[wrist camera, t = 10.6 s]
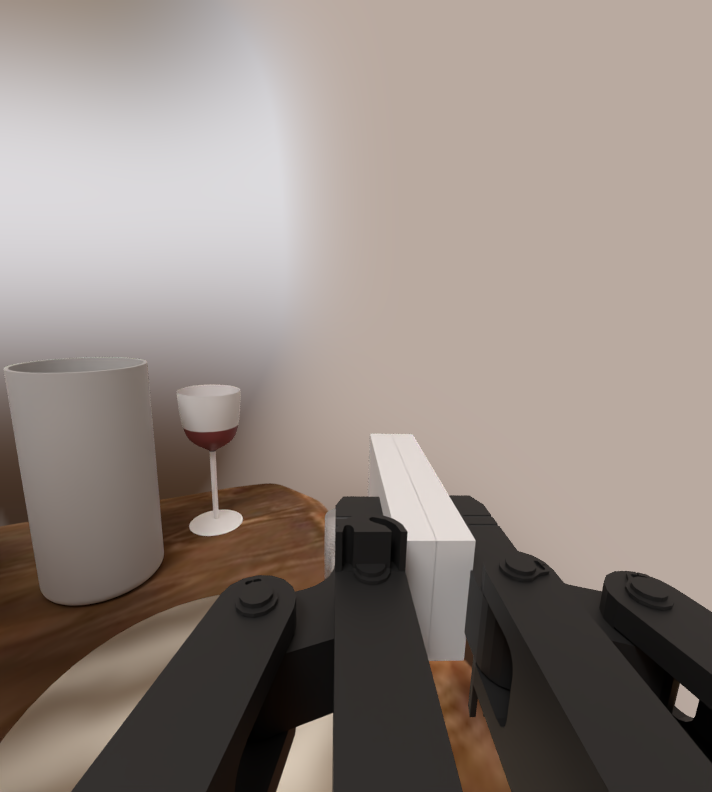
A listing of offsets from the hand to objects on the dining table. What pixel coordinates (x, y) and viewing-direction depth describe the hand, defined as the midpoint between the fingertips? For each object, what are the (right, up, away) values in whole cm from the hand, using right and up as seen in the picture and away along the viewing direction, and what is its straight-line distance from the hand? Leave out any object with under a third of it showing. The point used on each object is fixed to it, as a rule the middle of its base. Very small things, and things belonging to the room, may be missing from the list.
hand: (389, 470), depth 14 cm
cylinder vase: (-31, -19, +34) cm, 50 cm away
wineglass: (-22, -16, +45) cm, 53 cm away
